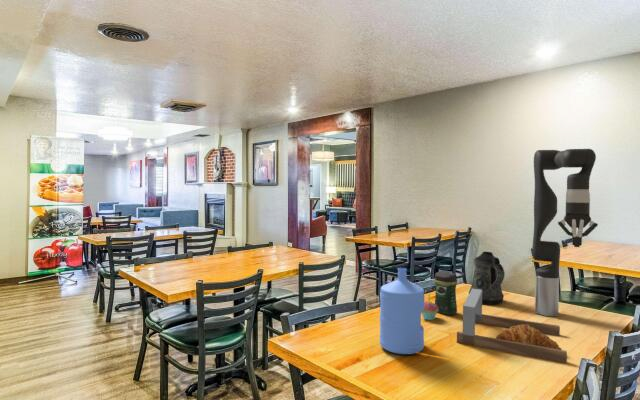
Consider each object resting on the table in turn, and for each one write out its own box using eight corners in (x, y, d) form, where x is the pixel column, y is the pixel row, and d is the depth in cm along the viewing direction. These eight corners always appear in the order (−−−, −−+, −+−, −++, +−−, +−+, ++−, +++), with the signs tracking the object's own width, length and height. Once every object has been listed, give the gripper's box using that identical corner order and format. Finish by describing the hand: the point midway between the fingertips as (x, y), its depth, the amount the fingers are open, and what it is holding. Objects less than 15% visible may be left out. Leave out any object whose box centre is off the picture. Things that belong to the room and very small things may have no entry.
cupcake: (439, 322, 159) (439, 294, 159) (419, 320, 161) (419, 293, 160) (437, 315, 167) (437, 289, 167) (417, 314, 169) (418, 288, 169)
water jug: (398, 358, 124) (399, 275, 123) (371, 342, 137) (371, 266, 137) (433, 350, 131) (434, 270, 130) (404, 334, 145) (404, 263, 144)
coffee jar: (459, 313, 171) (460, 273, 170) (449, 316, 166) (450, 275, 165) (441, 308, 178) (441, 269, 178) (431, 311, 173) (431, 271, 173)
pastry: (496, 349, 132) (496, 327, 131) (495, 337, 143) (495, 316, 143) (565, 360, 123) (565, 336, 123) (557, 345, 135) (557, 324, 135)
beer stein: (478, 294, 203) (478, 248, 203) (515, 302, 188) (516, 253, 188) (462, 299, 193) (463, 251, 192) (500, 308, 178) (501, 256, 177)
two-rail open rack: (466, 319, 162) (467, 287, 162) (559, 334, 146) (559, 299, 145) (456, 342, 137) (457, 304, 137) (566, 363, 121) (567, 320, 121)
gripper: (597, 201, 141) (596, 246, 142) (556, 201, 148) (555, 244, 148) (601, 201, 135) (600, 249, 135) (557, 201, 141) (557, 246, 141)
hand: (576, 246), depth 142 cm, fingers closed
